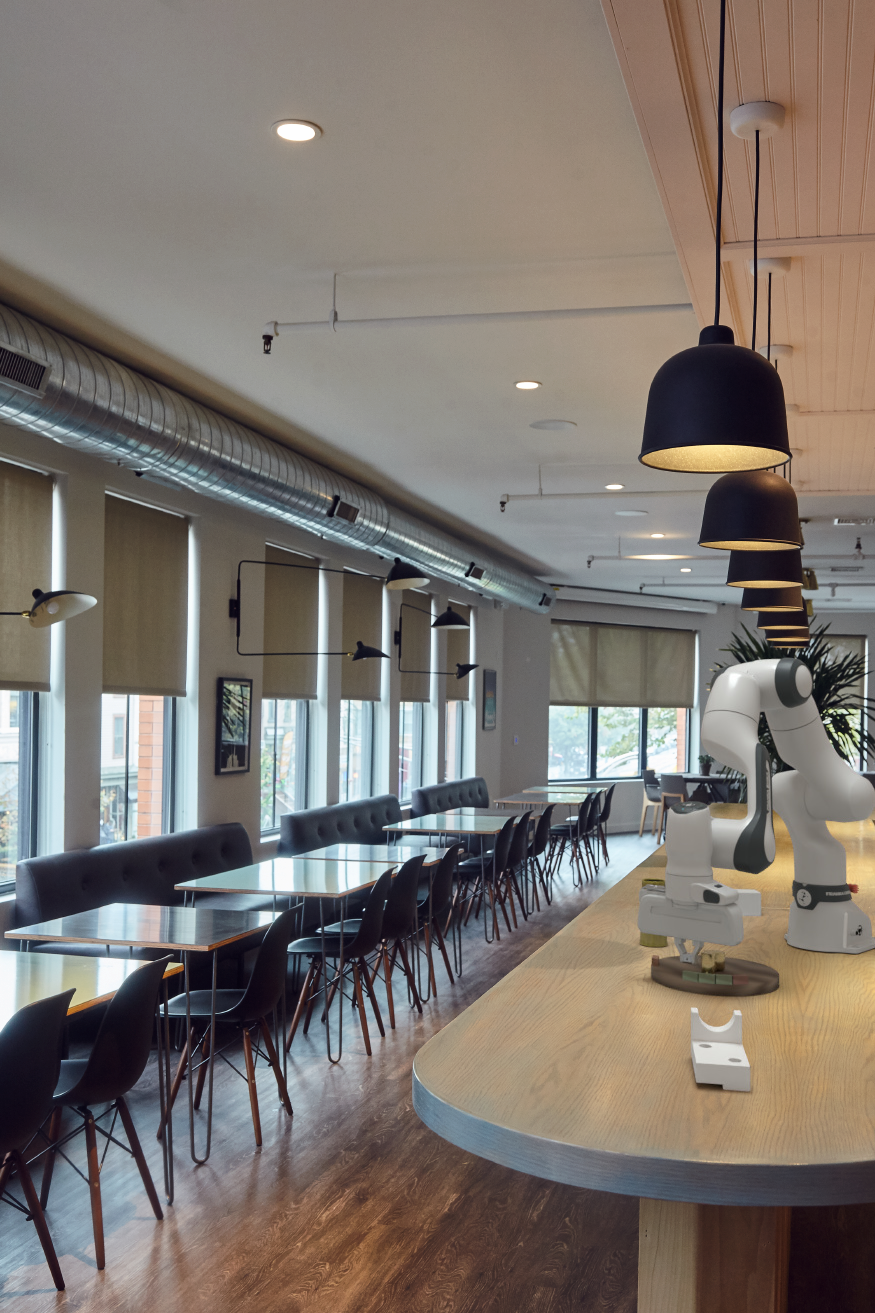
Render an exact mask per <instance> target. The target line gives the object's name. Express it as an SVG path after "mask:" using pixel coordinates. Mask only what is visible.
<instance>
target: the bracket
mask: <svg viewBox="0 0 875 1313" xmlns="http://www.w3.org/2000/svg"><path fill="white" fill-rule="evenodd" d="M699 1014H700V1013H699V1009H698V1008H697V1007H690V1056H691V1061H692V1067H693V1072H694V1077H695V1082H696V1084H697V1083H698V1084H713V1085H721V1086H722V1089H723V1090H727V1091H737V1092H749V1091H750V1092H751V1065H750V1063H749V1060H748V1056H747V1054H746V1051H745V1047H744V1045H743V1014H742V1011H741V1010H738V1009H737V1010H735V1009H734V1010H733V1013H732V1017H731V1018H730V1020H729V1021H728V1022H727V1023H726V1024H724V1025H721V1026H712V1025H710V1024H707V1023H706V1022H705V1021H703V1020H702V1018H701V1017H700V1015H699Z"/></svg>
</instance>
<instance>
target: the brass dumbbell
mask: <svg viewBox="0 0 875 1313" xmlns="http://www.w3.org/2000/svg"><path fill="white" fill-rule="evenodd" d="M700 955H701V973H708V974H714V972H715V970H724V969H725V957H726V952H725V951H722V950H719V949H705V950H703V951H701V952H700Z"/></svg>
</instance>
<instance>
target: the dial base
mask: <svg viewBox="0 0 875 1313" xmlns="http://www.w3.org/2000/svg"><path fill="white" fill-rule="evenodd" d="M650 964H651V965H650V977H651V979H652V981H654V982H656V983H657V984H659V985H662V986H664V987H667V988H669V989H673V990H678V991H682V992H685V993H691V994H697V995H705V996H706V995H707V996H720V997H750V996H751V997H752V996H760V995H767V994H769V993H773V992H775V991H777V990H778V989H779V988H780V973H779V971H778V970H776V968H773V967H771V966H770V965H769V966H768V965H767V964H763V963H761V962H756V961H752V960H748V959H743V958H736V957H728V956H725V969H724V970H715V972H714V974H708V973H701V954H700V955H699V954H698V964H696V965H693V964H688V963H682V962H680V955H674V956H668V957H667V956H666V957H662V958H660V955H658V954H657V955H656V954H655V955H654V954H653V955H652V956H651V963H650Z"/></svg>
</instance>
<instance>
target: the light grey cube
mask: <svg viewBox="0 0 875 1313" xmlns="http://www.w3.org/2000/svg"><path fill="white" fill-rule="evenodd" d="M734 889H735V890H737V891H738V893H739V898H738V900H737V901H736V902H734V903H736V904H737V905H738V906H739V907H740V909H741V912H742V917H762V893H761V892H760V891H758V890H757V889H747V888H745V889H744V888H734Z"/></svg>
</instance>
